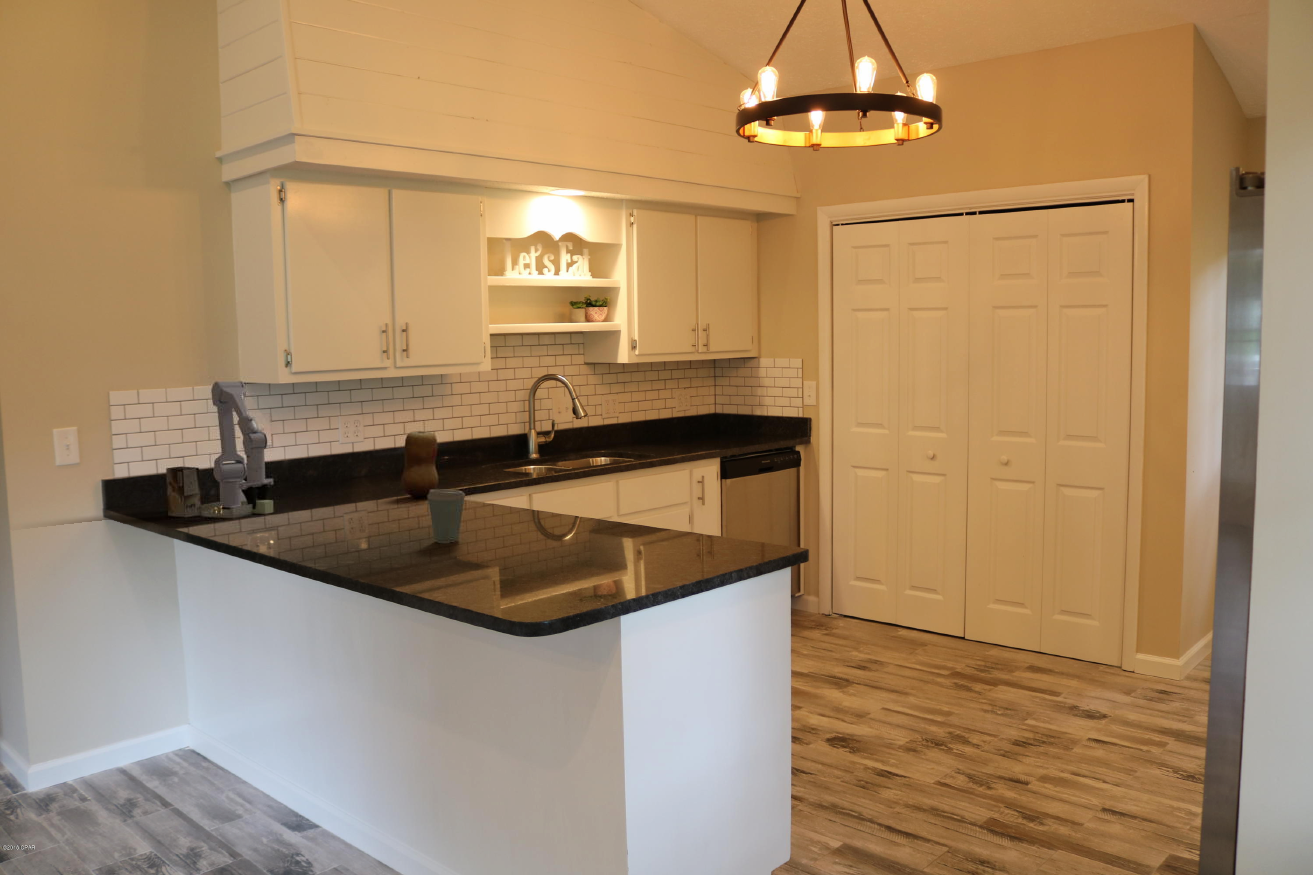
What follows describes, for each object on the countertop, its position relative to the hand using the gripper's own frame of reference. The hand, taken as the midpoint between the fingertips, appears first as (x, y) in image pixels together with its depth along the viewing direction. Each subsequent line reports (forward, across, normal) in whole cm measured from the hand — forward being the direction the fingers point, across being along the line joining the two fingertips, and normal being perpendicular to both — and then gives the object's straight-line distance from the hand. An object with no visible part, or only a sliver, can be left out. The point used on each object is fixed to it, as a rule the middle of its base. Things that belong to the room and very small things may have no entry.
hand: (257, 507), depth 343 cm
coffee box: (+2, -14, +18) cm, 23 cm away
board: (+2, 0, 0) cm, 2 cm away
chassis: (+1, -9, +5) cm, 10 cm away
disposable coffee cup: (+2, -27, -90) cm, 94 cm away
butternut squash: (+2, +49, -33) cm, 59 cm away
